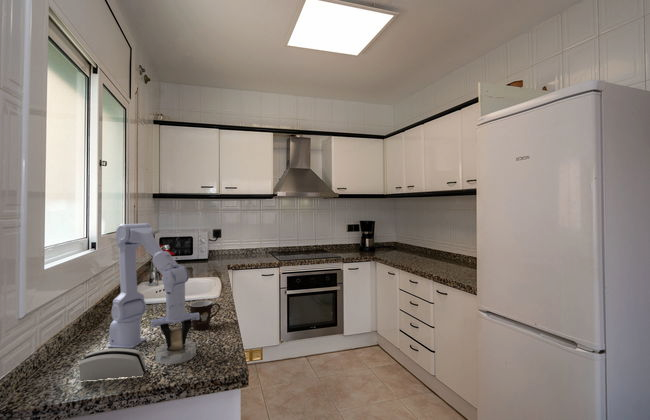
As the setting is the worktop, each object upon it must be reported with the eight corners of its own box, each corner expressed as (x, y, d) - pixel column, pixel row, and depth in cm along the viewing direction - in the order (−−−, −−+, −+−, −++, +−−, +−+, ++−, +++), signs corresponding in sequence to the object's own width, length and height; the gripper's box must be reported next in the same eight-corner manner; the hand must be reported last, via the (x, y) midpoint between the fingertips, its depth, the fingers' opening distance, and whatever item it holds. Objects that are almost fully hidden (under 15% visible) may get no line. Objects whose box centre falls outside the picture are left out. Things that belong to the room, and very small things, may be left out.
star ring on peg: (147, 364, 103) (147, 354, 103) (169, 348, 115) (169, 339, 115) (183, 366, 102) (183, 356, 101) (202, 349, 113) (202, 340, 113)
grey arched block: (149, 369, 100) (144, 343, 96) (143, 382, 95) (138, 355, 92) (89, 373, 97) (82, 347, 94) (80, 387, 93) (72, 359, 89)
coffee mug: (188, 332, 129) (188, 307, 129) (191, 325, 137) (191, 301, 137) (219, 329, 132) (219, 304, 132) (220, 322, 140) (220, 299, 140)
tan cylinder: (166, 352, 106) (166, 331, 106) (173, 347, 110) (173, 327, 110) (178, 353, 106) (178, 331, 106) (185, 348, 110) (184, 327, 110)
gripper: (152, 310, 101) (152, 354, 101) (201, 303, 108) (201, 343, 109) (150, 305, 107) (150, 346, 107) (197, 298, 114) (197, 337, 115)
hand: (176, 344), depth 108 cm, fingers closed on tan cylinder, 4 cm apart
